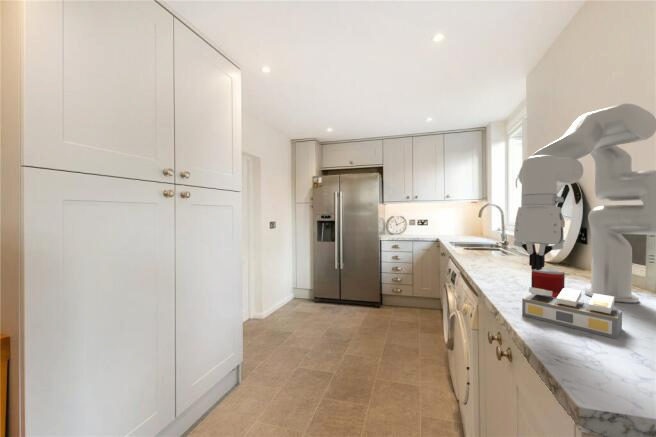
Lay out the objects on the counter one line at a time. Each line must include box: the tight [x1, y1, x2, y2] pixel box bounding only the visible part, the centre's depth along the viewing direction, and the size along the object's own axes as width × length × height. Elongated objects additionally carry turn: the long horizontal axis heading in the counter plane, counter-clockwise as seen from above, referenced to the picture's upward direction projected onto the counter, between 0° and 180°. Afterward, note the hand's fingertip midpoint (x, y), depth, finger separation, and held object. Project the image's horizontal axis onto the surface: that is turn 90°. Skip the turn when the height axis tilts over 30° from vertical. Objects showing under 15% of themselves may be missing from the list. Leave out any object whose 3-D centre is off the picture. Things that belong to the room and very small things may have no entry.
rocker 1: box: [528, 286, 552, 296], centre depth 74 cm, size 7×4×2 cm, turn 128°
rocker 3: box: [588, 293, 616, 314], centre depth 65 cm, size 7×4×2 cm, turn 127°
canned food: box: [530, 267, 566, 298], centre depth 84 cm, size 8×8×11 cm
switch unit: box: [521, 293, 623, 340], centre depth 70 cm, size 9×18×5 cm, turn 37°
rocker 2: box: [557, 287, 582, 307], centre depth 70 cm, size 7×4×2 cm, turn 127°
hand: (536, 269), depth 72 cm, fingers closed
